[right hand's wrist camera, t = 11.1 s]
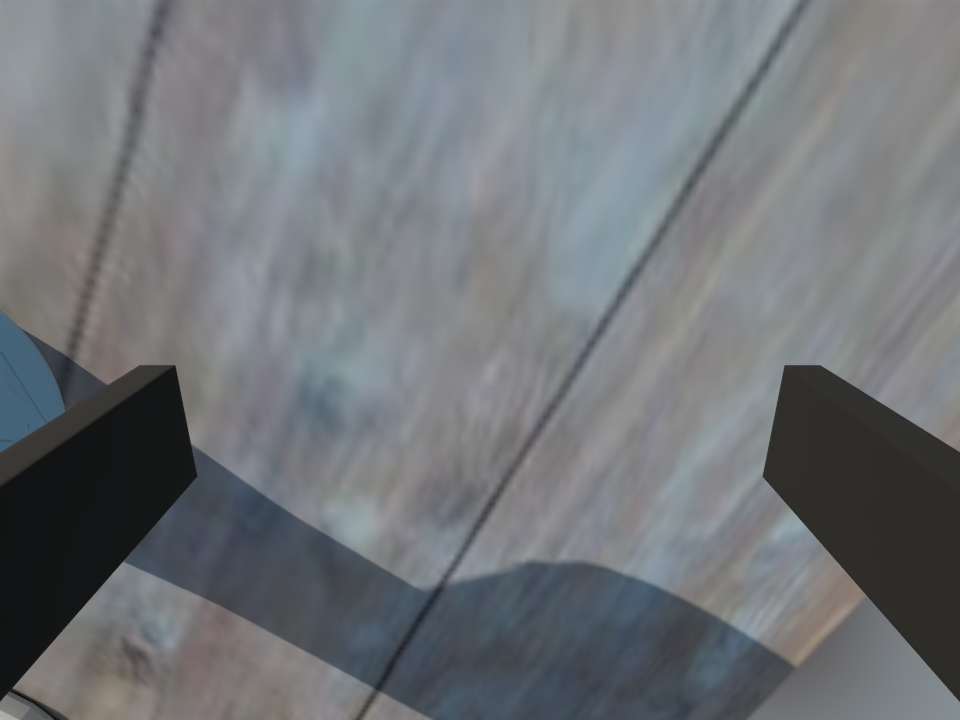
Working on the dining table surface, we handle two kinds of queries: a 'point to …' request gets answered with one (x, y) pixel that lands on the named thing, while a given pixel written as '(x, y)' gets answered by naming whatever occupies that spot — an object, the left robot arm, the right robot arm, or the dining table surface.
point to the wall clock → (20, 709)
